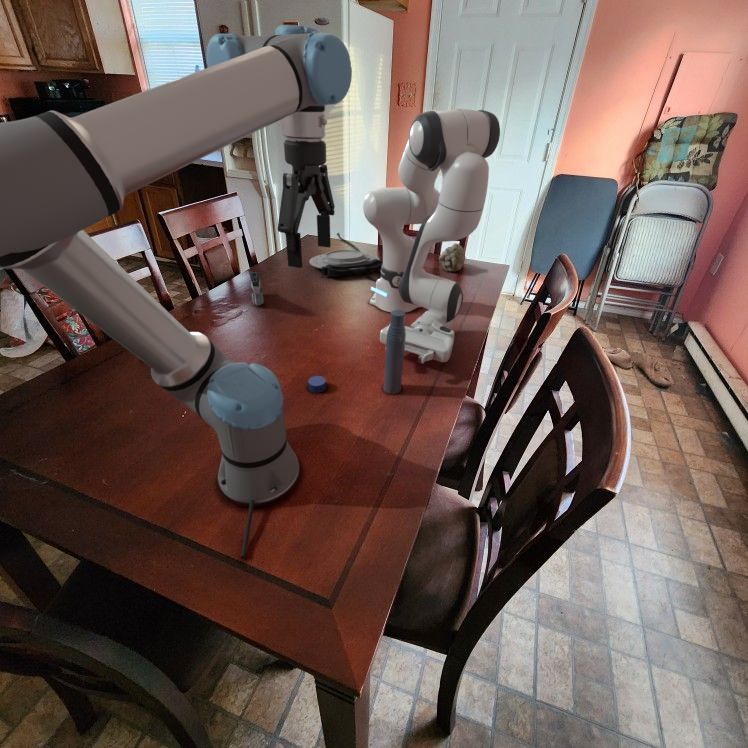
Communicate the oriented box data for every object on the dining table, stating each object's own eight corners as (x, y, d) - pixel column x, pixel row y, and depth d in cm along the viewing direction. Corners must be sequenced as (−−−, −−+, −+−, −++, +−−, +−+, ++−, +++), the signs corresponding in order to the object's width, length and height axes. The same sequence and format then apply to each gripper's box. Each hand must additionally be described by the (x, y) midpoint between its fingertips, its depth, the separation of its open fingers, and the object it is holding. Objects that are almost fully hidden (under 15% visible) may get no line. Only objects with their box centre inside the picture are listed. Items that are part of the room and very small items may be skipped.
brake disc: (389, 275, 168) (390, 264, 165) (316, 281, 161) (316, 269, 158) (368, 251, 193) (368, 241, 191) (304, 255, 186) (304, 244, 183)
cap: (315, 395, 103) (315, 388, 102) (304, 387, 105) (304, 380, 104) (329, 388, 105) (329, 381, 104) (318, 380, 108) (318, 373, 107)
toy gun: (251, 301, 130) (247, 269, 130) (254, 309, 149) (250, 282, 149) (263, 300, 131) (259, 268, 131) (264, 308, 150) (261, 281, 149)
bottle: (385, 395, 104) (390, 317, 92) (381, 384, 108) (386, 308, 95) (402, 393, 105) (410, 316, 92) (398, 383, 108) (405, 307, 96)
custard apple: (471, 270, 183) (464, 268, 169) (446, 274, 187) (438, 274, 174) (467, 243, 181) (460, 240, 168) (442, 249, 186) (434, 246, 172)
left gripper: (290, 147, 63) (299, 279, 75) (349, 135, 83) (349, 241, 95) (247, 144, 65) (263, 273, 77) (315, 132, 84) (319, 237, 97)
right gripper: (393, 314, 119) (369, 333, 109) (460, 333, 112) (441, 356, 102) (391, 333, 123) (368, 354, 113) (456, 352, 115) (438, 377, 105)
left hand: (310, 255), depth 86 cm, fingers open, 13 cm apart
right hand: (403, 355), depth 107 cm, fingers open, 8 cm apart
